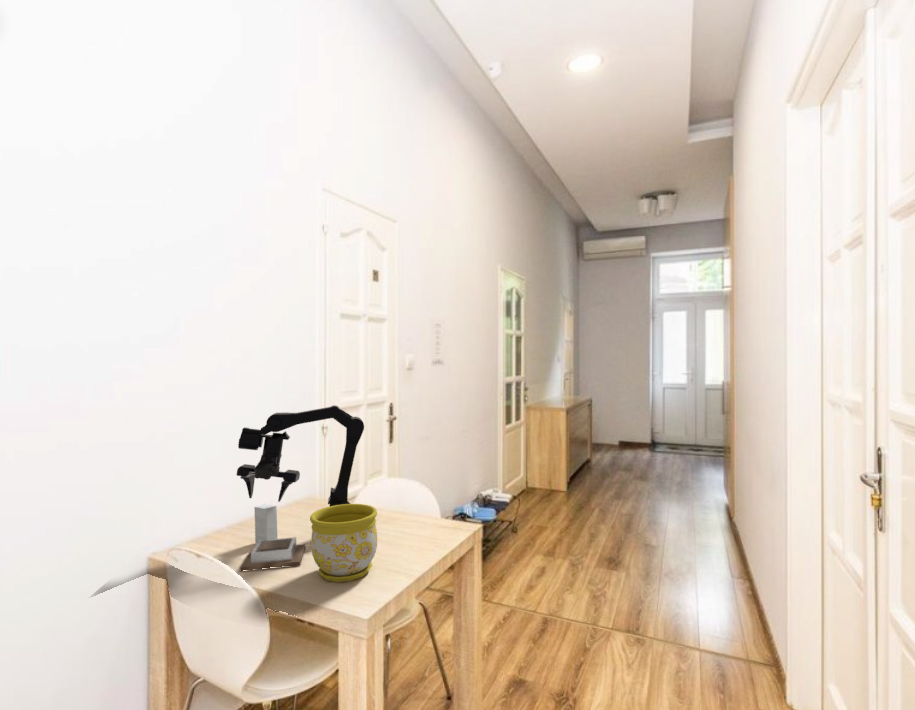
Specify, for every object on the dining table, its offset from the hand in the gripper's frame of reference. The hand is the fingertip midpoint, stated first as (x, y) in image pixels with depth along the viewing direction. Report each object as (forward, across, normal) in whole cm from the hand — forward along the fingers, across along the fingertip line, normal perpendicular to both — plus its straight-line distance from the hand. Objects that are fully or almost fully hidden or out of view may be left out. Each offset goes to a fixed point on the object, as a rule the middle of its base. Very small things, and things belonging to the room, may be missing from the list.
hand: (264, 499), depth 165 cm
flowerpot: (+10, +32, -26) cm, 42 cm away
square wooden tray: (+13, +9, -14) cm, 21 cm away
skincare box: (+14, +2, 0) cm, 14 cm away
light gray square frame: (+12, +9, -14) cm, 20 cm away
